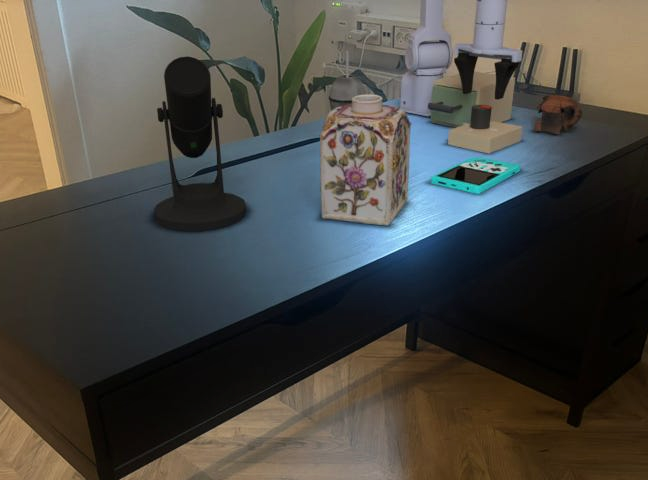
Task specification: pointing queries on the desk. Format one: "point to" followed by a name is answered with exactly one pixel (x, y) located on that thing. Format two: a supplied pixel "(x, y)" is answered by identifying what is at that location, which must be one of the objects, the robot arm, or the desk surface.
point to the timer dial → (480, 116)
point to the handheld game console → (475, 174)
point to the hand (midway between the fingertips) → (482, 95)
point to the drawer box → (484, 94)
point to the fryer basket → (451, 105)
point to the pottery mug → (557, 114)
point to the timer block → (485, 137)
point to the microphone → (194, 151)
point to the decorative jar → (364, 161)
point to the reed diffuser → (345, 88)
